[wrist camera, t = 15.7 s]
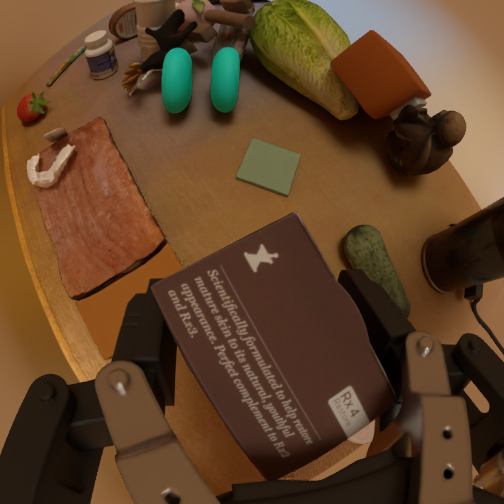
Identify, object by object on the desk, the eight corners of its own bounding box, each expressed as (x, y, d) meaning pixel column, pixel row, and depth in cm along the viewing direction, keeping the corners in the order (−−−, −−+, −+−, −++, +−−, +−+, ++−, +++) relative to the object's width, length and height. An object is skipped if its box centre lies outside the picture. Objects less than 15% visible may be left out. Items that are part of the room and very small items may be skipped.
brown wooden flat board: (110, 359, 28) (100, 362, 24) (37, 169, 32) (27, 158, 29) (205, 302, 31) (204, 299, 28) (107, 124, 35) (102, 110, 32)
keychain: (43, 138, 25) (64, 130, 27) (42, 134, 25) (63, 126, 26) (52, 144, 34) (68, 137, 35) (51, 140, 33) (68, 134, 35)
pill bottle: (120, 72, 39) (111, 35, 31) (93, 83, 38) (81, 47, 29) (116, 60, 40) (108, 25, 32) (91, 70, 39) (80, 36, 30)
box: (188, 313, 18) (141, 278, 6) (250, 281, 19) (308, 198, 7) (234, 394, 16) (269, 492, 5) (295, 360, 17) (412, 394, 6)
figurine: (201, 35, 35) (134, 97, 39) (173, 9, 31) (106, 72, 34) (209, 28, 27) (124, 105, 31) (173, -5, 23) (88, 75, 26)
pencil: (96, 37, 42) (46, 86, 37) (95, 33, 41) (44, 83, 36) (100, 36, 42) (50, 87, 37) (99, 33, 41) (48, 83, 36)
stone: (215, 16, 41) (244, -10, 33) (234, 26, 44) (265, 1, 36) (197, 76, 41) (229, 47, 33) (221, 85, 44) (255, 60, 36)
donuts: (172, 84, 39) (168, 36, 29) (233, 83, 40) (239, 35, 31) (165, 127, 36) (156, 76, 27) (234, 126, 38) (242, 74, 28)
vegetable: (330, 240, 35) (347, 226, 30) (360, 227, 36) (379, 213, 32) (374, 339, 32) (396, 338, 28) (402, 320, 34) (425, 317, 29)
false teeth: (64, 176, 27) (72, 185, 29) (73, 135, 28) (78, 145, 30) (15, 188, 25) (24, 196, 27) (25, 148, 27) (32, 157, 29)
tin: (171, 17, 46) (170, -11, 38) (177, 21, 45) (177, -8, 37) (111, 42, 41) (105, 12, 33) (116, 46, 41) (110, 15, 33)
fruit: (16, 132, 34) (36, 120, 32) (6, 110, 30) (25, 95, 28) (34, 117, 37) (57, 105, 35) (25, 96, 33) (47, 82, 31)
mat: (299, 156, 38) (300, 154, 37) (287, 197, 36) (288, 195, 35) (252, 140, 38) (253, 137, 37) (235, 179, 36) (235, 176, 35)
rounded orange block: (324, 61, 30) (376, 129, 31) (368, 25, 24) (427, 97, 24) (372, 74, 45) (404, 119, 46) (401, 53, 39) (436, 100, 40)
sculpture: (427, 131, 40) (483, 122, 25) (415, 186, 42) (473, 193, 28) (378, 105, 39) (429, 82, 24) (365, 164, 41) (417, 159, 27)
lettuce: (359, 124, 47) (288, 147, 44) (299, 26, 43) (228, 38, 41) (408, 94, 32) (326, 112, 30) (326, -19, 29) (241, -16, 26)
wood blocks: (227, -7, 33) (270, -2, 29) (233, 3, 35) (275, 10, 31) (123, 90, 36) (149, 108, 33) (133, 97, 39) (160, 117, 35)
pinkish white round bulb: (170, 29, 44) (168, -8, 34) (206, 22, 46) (208, -14, 36) (180, 48, 42) (179, 6, 33) (220, 40, 44) (224, 0, 34)
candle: (177, 71, 40) (174, -1, 26) (138, 74, 39) (127, 5, 25) (182, 51, 42) (181, -15, 28) (146, 54, 41) (138, -10, 27)
